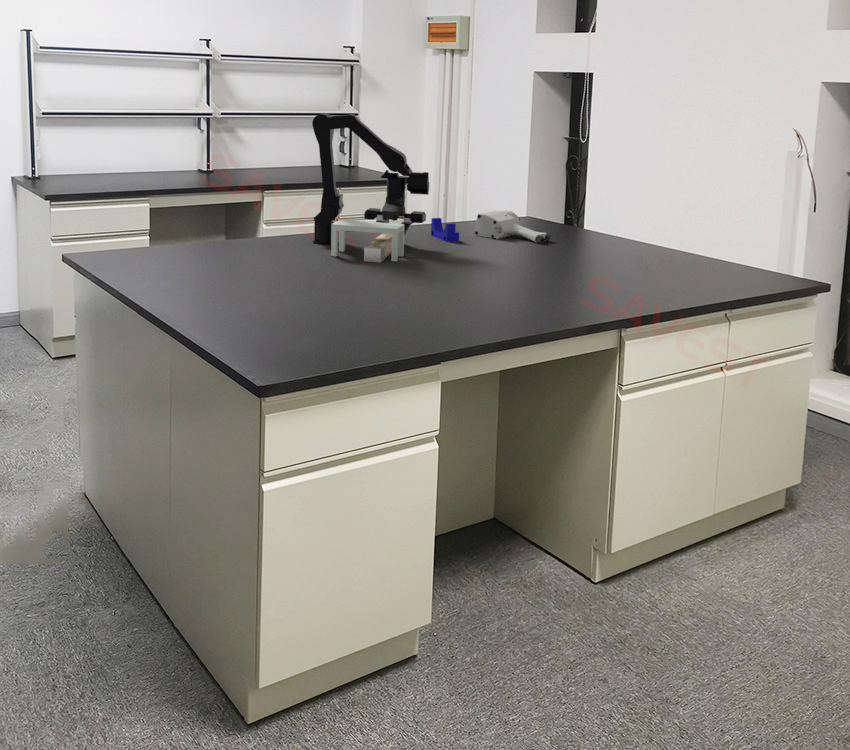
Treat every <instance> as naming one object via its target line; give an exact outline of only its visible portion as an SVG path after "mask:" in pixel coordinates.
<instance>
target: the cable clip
mask: <svg viewBox="0 0 850 750" xmlns="http://www.w3.org/2000/svg"><path fill="white" fill-rule="evenodd" d="M442 220H443V219H442V218H441V217H431V222H430V223H431V227H430V236H432V237H434V238H436V239H439V240H442V241H443V240H444V241H443V242H446V243H447V242H449V243H450V241H453V242H460V232H458V231H456V226H457V225H456V223H455V222H449V223H448V222H446V223H444V225H445V226H444V227H443V223H442Z"/></svg>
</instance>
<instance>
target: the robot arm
mask: <svg viewBox="0 0 850 750" xmlns="http://www.w3.org/2000/svg"><path fill="white" fill-rule="evenodd" d="M311 121H312V122H311V123H312V128H313V133H314V136H315V138H316V141H317V144H318V148H319V149H318V150H319V159H320V171H321V181H322V196H321V201H320V202H321V203H320V212H318V213H317V215H314V217H313V221H314V225H313V226H314V227H313V228H314V235H313V236H314V238H313V239H314V240H312V243H316V244H326V245H331V224H333V223H335V222H336V219H337V217H339V215H341V213H342V211H343V208H344V207H345V205H344V202H343V200H344V199H343V198H344V194H343V193H340V194H339V192H338V189H337V181H336V172H335V161H334V151H333V139H334V136H335V135H334V134H335V130H338V129H347V128H348V129H349V130H350V131H351V132H353V133H354V135H356V136H357V137H358V138H359V139H360V140H361V141H363V143H365V144H366V145H367V146H369V148H371V149H372V150H373V151H374V152H375V153H376V154H377V155H378V157H379V158H380V160H381V161H382V162H383V164H384V165H385V166H386V167H387V168H388V169H386V170H385V171H384V173H383V174H381V175H380V178H381V179H386V197H385V202H384V204H383V207H382V209H381V208H375V207H369V208H367V209H366V210H365V211H364V214H363V215H364V220H371V221H373V220H375V219H376V220H375V222H380V223H390V221H398V220H403V221H402V222H401V223H400V224H405V227H404V238H405V236H406V234H407V231H408V230H409V228H410V226H411V225H413V224H422V223H424V222H425V221H427V213H426V212H425V211H419V210H413V211H412V212H410V213H409V212H406V207H405V205H406V204H405V203H406V201H405V200H406V191H408V192H409V193H410V195H425V196H426V195H429V193H430V177H429V172H428V171H427V172H426V171H424V172H416V171H413V170H412V168H411V167H410V166H409V164H408V163H407V162H408V160H407V156H406V154H405V153H403V152H402V151H400V150H399V149H397V148H396V147H394V146H392V145H390V144H388V143H386V142H385V141H384V140H383V139H382V138H380V137H379V136H378V135H377V134H376V133H375V132H374V131H372V129H370V128H369V127H368V126H367V125H366V124H365V123H364V122H362V121H361V120H360V119H359V118H358V117H357V115H356V114H354V113H351V114H350V113H349V114H343V115H342V114H340V115H331V114H330V113H327V112H326V113H325V112H323V113H319V114H317V115H315V116H314V118H313V119H312V120H311ZM390 171H391V172H390Z"/></svg>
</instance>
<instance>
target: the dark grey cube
mask: <svg viewBox="0 0 850 750" xmlns="http://www.w3.org/2000/svg"><path fill="white" fill-rule="evenodd" d="M385 259H386V258H385V246H378V245H371V244H368V245H366V246H365V247H364V248H363V262H370V263H372V262H373V263H382V262H383V261H384V260H385Z"/></svg>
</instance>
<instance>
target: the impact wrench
mask: <svg viewBox="0 0 850 750" xmlns="http://www.w3.org/2000/svg"><path fill="white" fill-rule="evenodd" d="M520 220H521V218H520V216H518V215H517V214H516V213H515V212H513V211H512V210H492V211H486V212H480V213H478V214H477V216H476V222H475V228H474V235H479V236H478V237H480V236H483V237H482V238H486V237H490V238H489V239H492V238H496V239H495V240H500V239H504V238H508V237H512V236H514V235H518V236H522V237H524V238H526V239H528V240H531V241H532V242H534V243H538V244H539V243H540V245H543V244H545V242H548V243H549V242H550V240H551V236H552V234H548V233H547V232H540V231H535V230H533V229H531V228H528V227H525V226H522V225H521V224H520ZM511 235H512V236H511ZM503 237H504V238H503ZM499 238H500V239H499Z"/></svg>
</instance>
